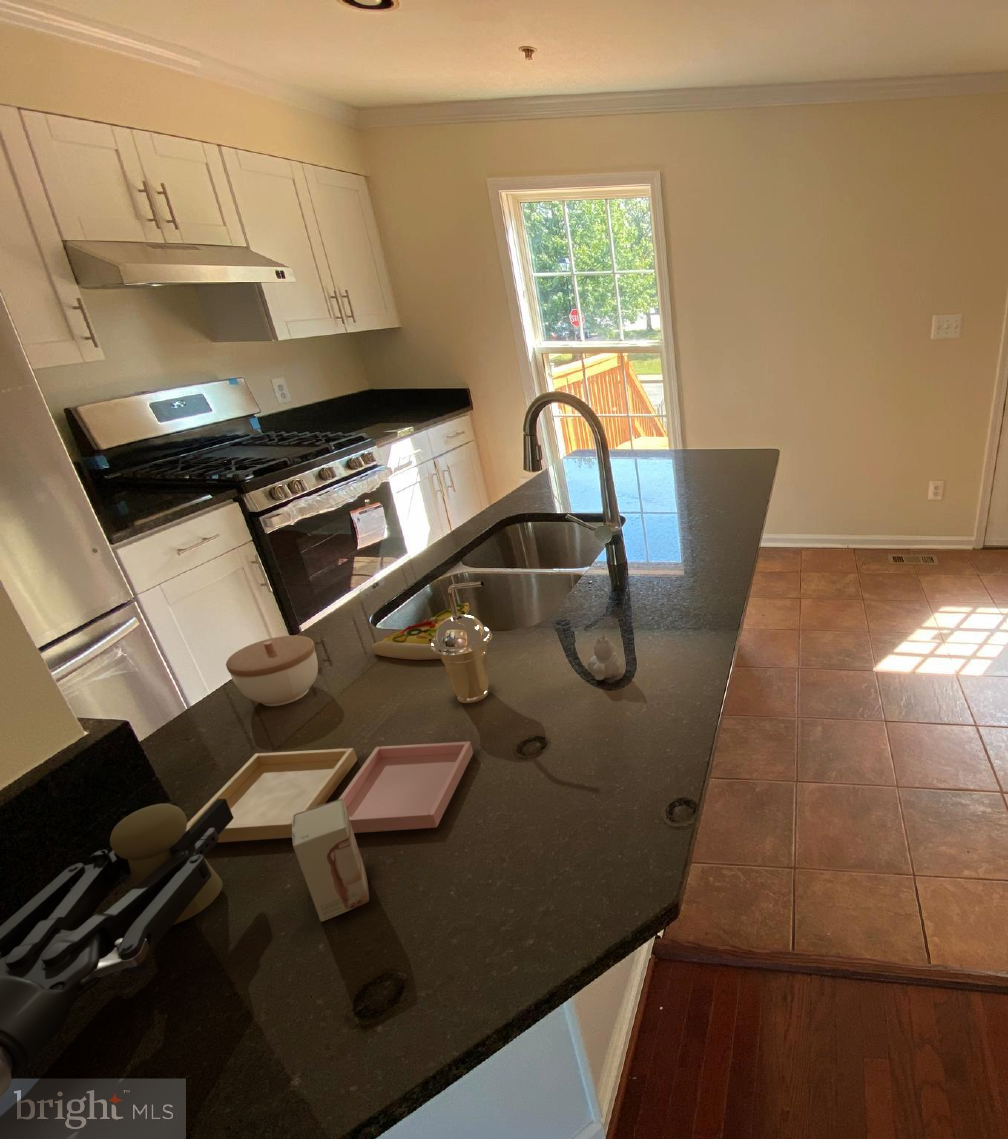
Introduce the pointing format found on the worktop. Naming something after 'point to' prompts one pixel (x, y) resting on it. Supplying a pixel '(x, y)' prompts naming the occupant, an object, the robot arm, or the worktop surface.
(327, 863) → the white carton
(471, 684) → the cup with straw
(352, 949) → the worktop surface
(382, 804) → the pink tray
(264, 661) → the trinket box
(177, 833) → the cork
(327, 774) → the birch tray
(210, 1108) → the worktop surface
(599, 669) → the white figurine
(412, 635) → the pizza slice
